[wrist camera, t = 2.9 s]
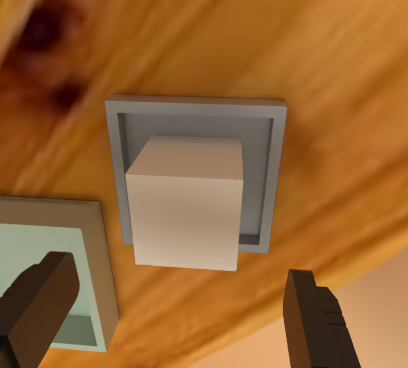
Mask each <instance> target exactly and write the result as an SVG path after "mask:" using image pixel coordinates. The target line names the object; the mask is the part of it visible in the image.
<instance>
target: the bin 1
mask: <svg viewBox="0 0 408 368" xmlns="http://www.w3.org/2000/svg"><path fill="white" fill-rule="evenodd" d="M50 251H60V252H71V253H72V254H73V256H74V260H75V264H76V268H77V273H78V277H79V282H80V290H79V294H78V297H77V299H76V301H75V303H74V305H73V306H72V308H71V310H70V312H69V313H68V315H67V317H66V319H65V320H64V322H63V324H62V326H61V327H60V329H59V331H58V333H57V334H56V336H55V338H54V340H53V341H52V343H51V345H50V347H51V348H62V349H73V350H85V351H96V352H107V350H108V347H109V345H110V342H111V339H112V337H113V334H114V331H115V329H116V326H117V324H118V321H119V313H118V307H117V301H116V295H115V289H114V283H113V277H112V270H111V264H110V258H109V252H108V246H107V240H106V234H105V228H104V222H103V216H102V210H101V204H100V201H82V200H63V199H45V198H27V197H8V196H0V297H2V296H3V293H4V292H5V291H6V290H7V289H8V287H11V284H12V283H13V281H14V280H15V279H16V278H17V277H18V276H19V274H20V273H22V272H23V271H24V270H26V269H27V268H29V267H30V266H32V265H33V264H39V263H40V262H41V260H42V259H43V258H44V257H45V255H46V254H47V253H48V252H50Z"/></svg>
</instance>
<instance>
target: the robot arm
mask: <svg viewBox="0 0 408 368" xmlns="http://www.w3.org/2000/svg"><path fill="white" fill-rule="evenodd" d="M79 290H80V282H79V277H78V273H77V268H76V264H75V260H74V256H73V254H72V253H71V252H60V251H50V252H48V253H47V254H46V255H45V257H44V258H43V259H42V260H41V262H40V263H39V264H33V265H32V266H30V267H29V268H27V269H26V270H24V271H23V272H22V273H20V274H19V276H18V277H17V278H16V279H15V280H14V281H13V283H12V284H11V287H8V289H7V290H6V291H5V292H4V293H3V296H2V297H0V368H38V366H39V364H40V363H41V361H42V359H43V357H44V356H45V354H46V352H47V350H48V348H49V347H50V345H51V343H52V341H53V340H54V338H55V336H56V334H57V333H58V331H59V329H60V327H61V326H62V324H63V322H64V320H65V319H66V317H67V315H68V313H69V312H70V310H71V308H72V306H73V305H74V303H75V301H76V299H77V297H78V294H79ZM283 317H284V324H285V330H286V338H287V344H288V351H289V358H290V365H291V368H361V366H360V363H359V360H358V357H357V355H356V352H355V349H354V346H353V343H352V340H351V337H350V334H349V332H348V329H347V327H346V323H345V320H344V317H343V316H342V311H341V308H340V306H339V303H338V300H337V299H336V297H335V296H334V295H333V294H332V292H331V291H330V290H329V289H328V288H327V287H319V286H316V283H315V280H314V276H313V273H312V271H309V270H296V269H290V270H289V272H288V277H287V283H286V288H285V294H284V300H283Z"/></svg>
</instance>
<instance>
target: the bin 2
mask: <svg viewBox="0 0 408 368" xmlns="http://www.w3.org/2000/svg"><path fill="white" fill-rule="evenodd" d="M104 103H105V110H106V118H107V125H108V133H109V140H110V147H111V155H112V162H113V170H114V177H115V185H116V192H117V199H118V207H119V214H120V222H121V229H122V236H123V244H127V245H133V236H132V228H131V219H130V211H129V202H128V193H127V185H126V176H125V174H126V173H127V171H128V170H129V168H130V167H131V165H132V164H133V162H134V161H135V159H136V158H137V156H138V155H139V154H140V152H141V151H142V149H143V148H144V146H145V145H146V143H147V142H148V140H149V139H150V137H151V136H152V135H161V136H186V137H211V138H237V139H241V143H242V163H243V191H242V204H241V217H240V230H239V243H238V252H252V253H267V254H268V250H269V242H270V235H271V227H272V220H273V212H274V205H275V197H276V190H277V182H278V175H279V167H280V160H281V152H282V145H283V137H284V130H285V122H286V115H287V107H288V106H287V105H286V103H285V101H284V99H254V98H221V97H189V96H156V95H123V94H114V95H112V96H111V97H109V98H108V99H106V100H105V101H104Z"/></svg>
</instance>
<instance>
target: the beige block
mask: <svg viewBox="0 0 408 368" xmlns="http://www.w3.org/2000/svg"><path fill="white" fill-rule="evenodd" d="M125 176H126V185H127V193H128V202H129V211H130V219H131V228H132V236H133V245H134V253H135V262H136V264H139V265H154V266H168V267H183V268H198V269H212V270H227V271H236V269H237V256H238V243H239V230H240V217H241V204H242V191H243V163H242V143H241V139H237V138H211V137H186V136H161V135H152V136H151V137H150V139H149V140H148V142H147V143H146V145H145V146H144V148H143V149H142V151H141V152H140V154H139V155H138V156H137V158H136V159H135V161H134V162H133V164H132V165H131V167H130V168H129V170H128V171H127V173H126V174H125Z"/></svg>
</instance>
